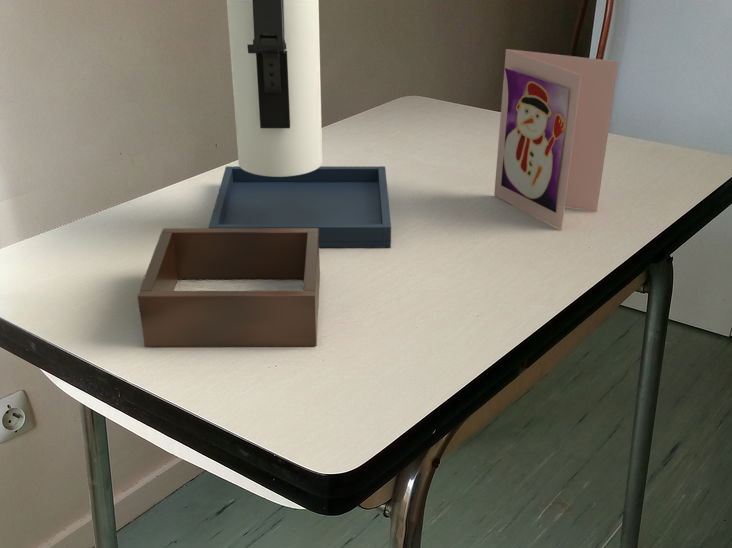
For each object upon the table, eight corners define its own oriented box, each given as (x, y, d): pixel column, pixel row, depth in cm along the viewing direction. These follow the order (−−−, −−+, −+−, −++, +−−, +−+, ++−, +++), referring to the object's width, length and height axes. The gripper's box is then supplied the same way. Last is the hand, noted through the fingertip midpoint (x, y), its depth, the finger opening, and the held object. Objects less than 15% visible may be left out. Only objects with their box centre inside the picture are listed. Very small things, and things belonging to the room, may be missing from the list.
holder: (144, 347, 82) (137, 296, 79) (168, 274, 93) (162, 227, 90) (316, 346, 82) (315, 295, 79) (319, 274, 93) (318, 227, 91)
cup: (271, 183, 94) (261, -5, 85) (222, 161, 99) (207, -19, 90) (339, 164, 99) (336, -17, 89) (288, 144, 104) (281, -29, 94)
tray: (210, 247, 98) (208, 227, 97) (227, 185, 112) (225, 166, 111) (390, 247, 98) (391, 227, 97) (384, 185, 113) (385, 166, 111)
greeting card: (487, 196, 110) (499, 50, 101) (541, 184, 113) (556, 41, 104) (554, 231, 102) (573, 76, 93) (610, 217, 105) (633, 66, 96)
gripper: (305, -163, 74) (314, 148, 88) (313, -180, 91) (319, 83, 105) (203, -164, 74) (228, 148, 88) (229, -180, 91) (247, 83, 105)
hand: (277, 112), depth 96 cm, fingers closed on cup, 8 cm apart
